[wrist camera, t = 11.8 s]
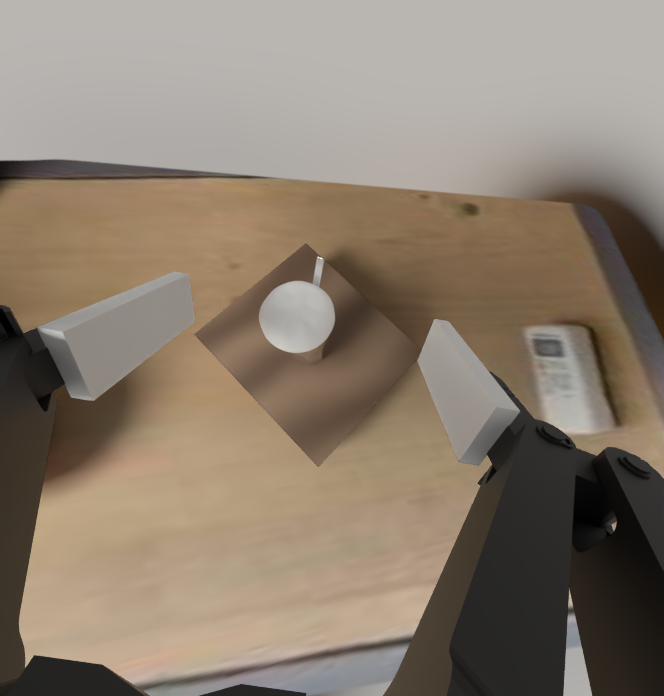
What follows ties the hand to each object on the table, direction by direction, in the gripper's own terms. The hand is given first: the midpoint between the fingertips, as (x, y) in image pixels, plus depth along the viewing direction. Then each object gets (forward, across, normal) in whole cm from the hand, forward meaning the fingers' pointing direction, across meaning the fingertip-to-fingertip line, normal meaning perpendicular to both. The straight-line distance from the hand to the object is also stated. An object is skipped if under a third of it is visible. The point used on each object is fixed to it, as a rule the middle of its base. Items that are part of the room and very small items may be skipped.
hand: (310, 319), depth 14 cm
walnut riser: (+11, 0, -10) cm, 15 cm away
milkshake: (+8, 0, -6) cm, 10 cm away
